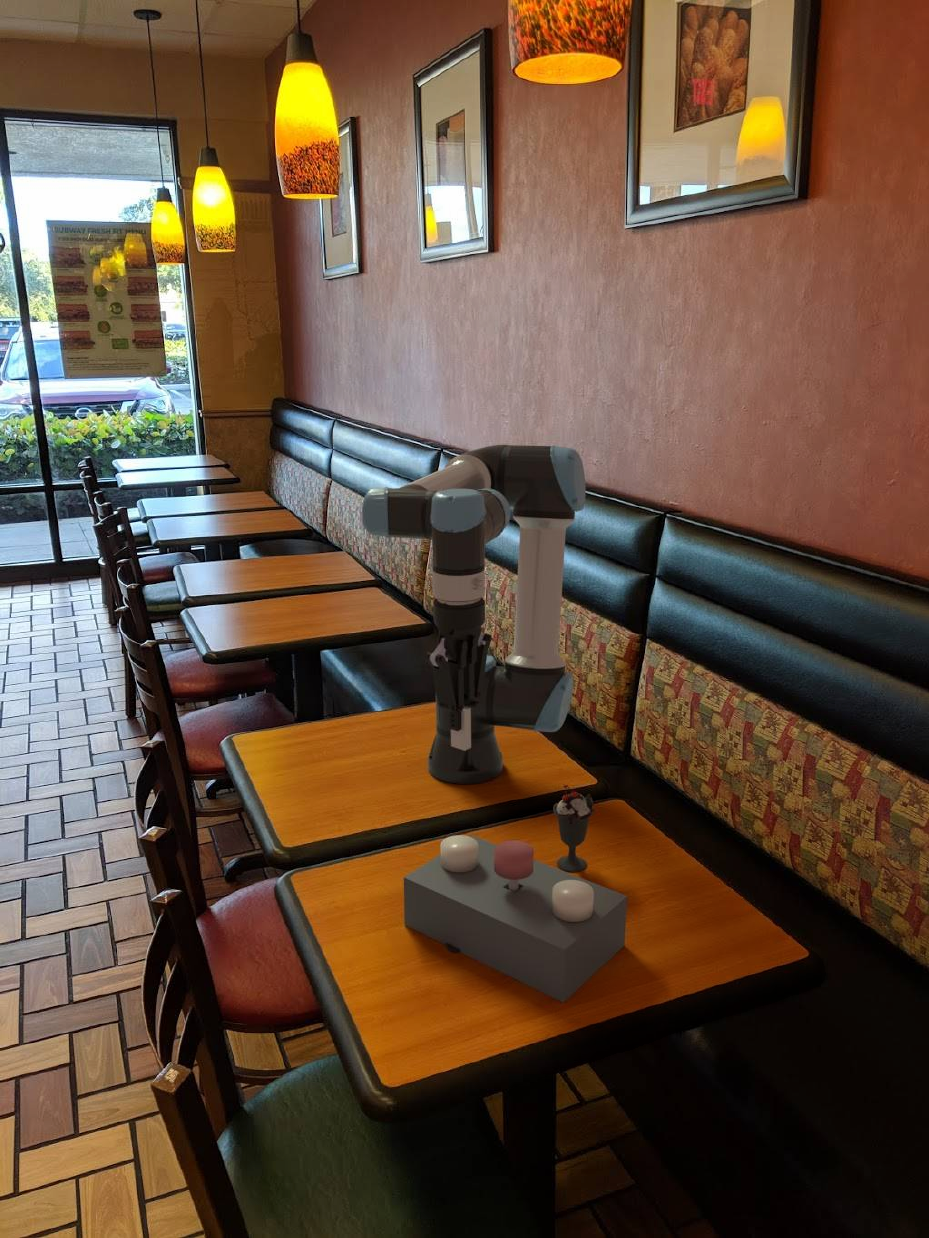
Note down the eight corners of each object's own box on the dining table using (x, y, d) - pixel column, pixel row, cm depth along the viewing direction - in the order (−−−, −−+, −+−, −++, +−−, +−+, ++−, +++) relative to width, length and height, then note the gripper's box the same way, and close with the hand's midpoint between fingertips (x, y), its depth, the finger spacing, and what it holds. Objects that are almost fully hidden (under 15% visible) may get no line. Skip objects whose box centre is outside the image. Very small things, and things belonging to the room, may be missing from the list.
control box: (471, 879, 156) (471, 834, 154) (624, 945, 139) (627, 896, 137) (404, 924, 144) (403, 877, 142) (563, 1002, 127) (564, 949, 125)
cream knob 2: (565, 923, 138) (567, 875, 136) (599, 938, 135) (601, 889, 133) (543, 942, 134) (544, 892, 132) (577, 957, 131) (579, 907, 128)
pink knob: (509, 883, 144) (509, 836, 141) (540, 897, 140) (541, 848, 138) (486, 900, 139) (486, 851, 137) (517, 914, 136) (518, 864, 134)
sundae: (546, 870, 158) (549, 787, 154) (557, 851, 164) (559, 770, 160) (586, 878, 156) (589, 793, 152) (595, 858, 162) (599, 776, 158)
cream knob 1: (456, 876, 150) (456, 831, 148) (485, 889, 147) (485, 843, 145) (433, 892, 146) (432, 846, 144) (462, 905, 143) (462, 858, 141)
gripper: (451, 613, 133) (453, 769, 140) (506, 591, 143) (506, 738, 150) (409, 604, 137) (414, 755, 145) (466, 583, 147) (468, 726, 154)
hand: (461, 746), depth 147 cm, fingers closed
